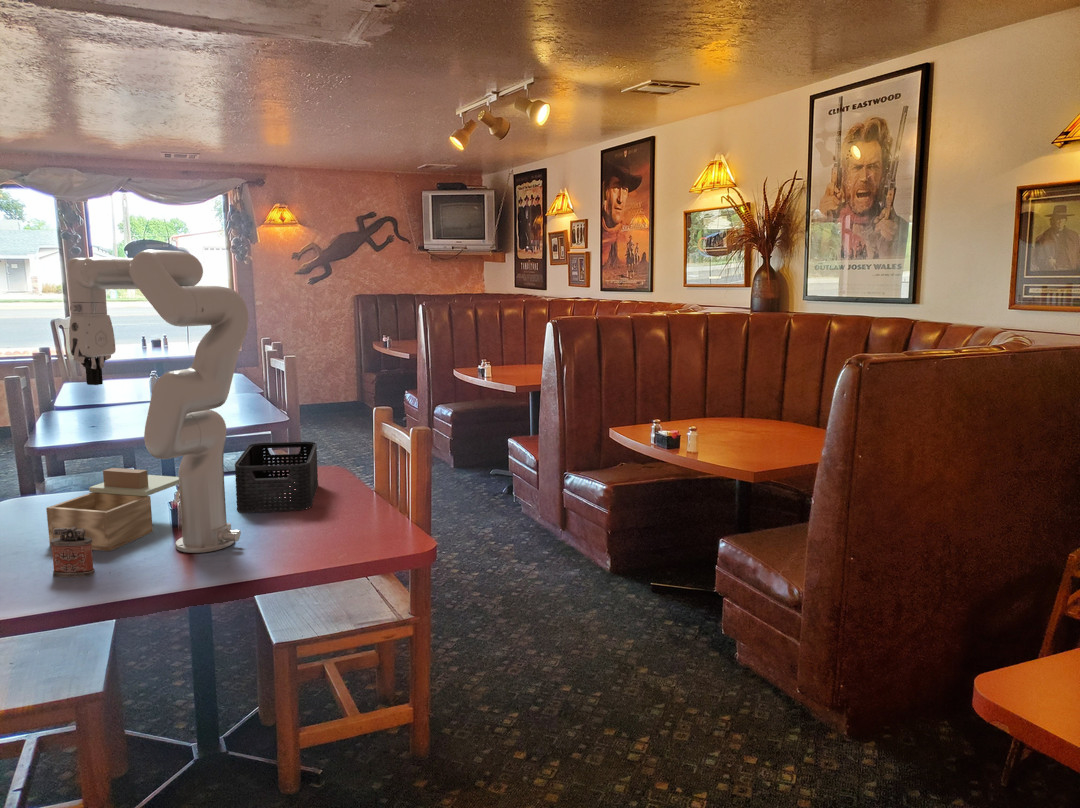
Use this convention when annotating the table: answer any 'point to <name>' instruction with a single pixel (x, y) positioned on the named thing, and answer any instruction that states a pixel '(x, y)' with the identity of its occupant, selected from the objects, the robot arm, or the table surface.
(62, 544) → the lighter
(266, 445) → the storage bin
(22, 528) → the table surface
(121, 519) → the wooden box
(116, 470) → the lid
